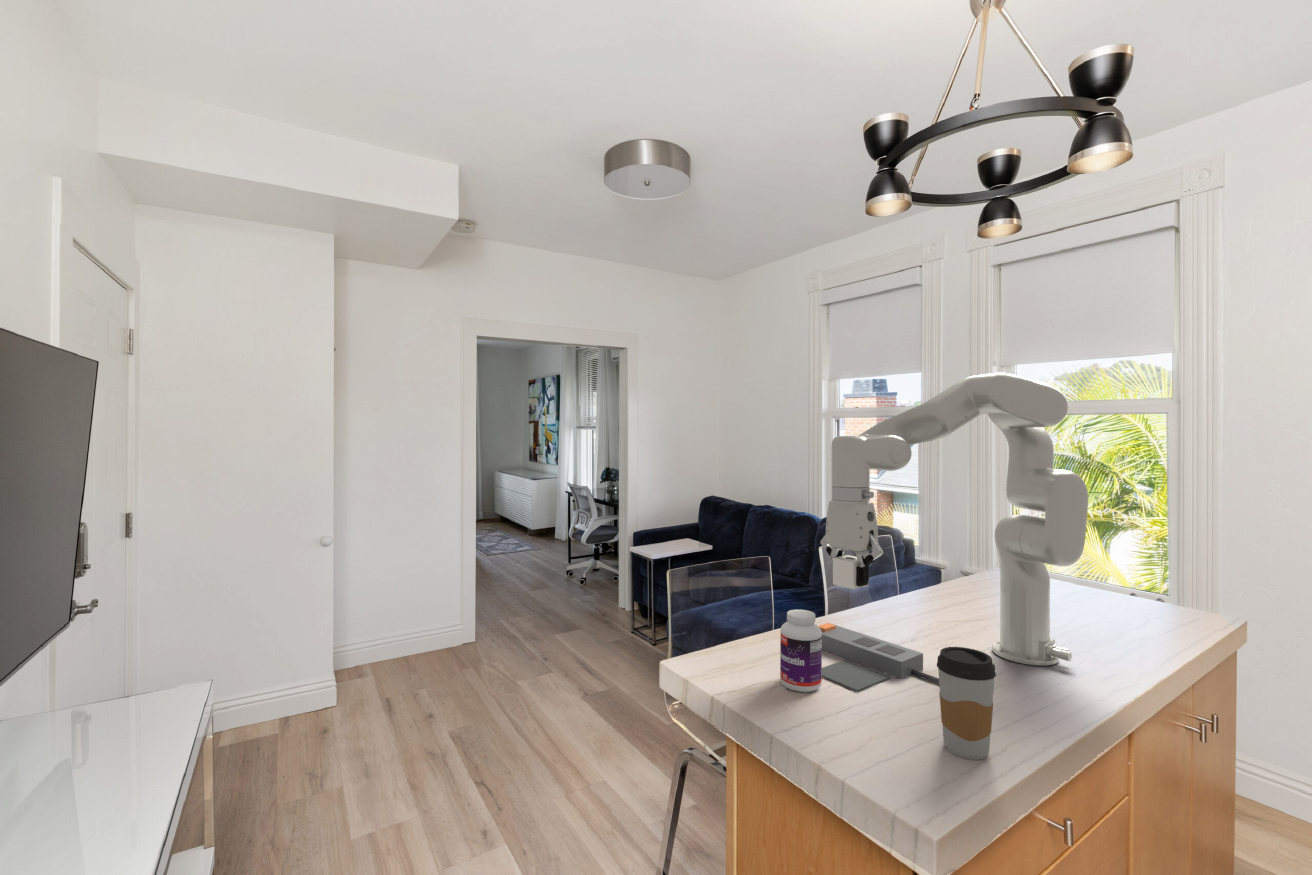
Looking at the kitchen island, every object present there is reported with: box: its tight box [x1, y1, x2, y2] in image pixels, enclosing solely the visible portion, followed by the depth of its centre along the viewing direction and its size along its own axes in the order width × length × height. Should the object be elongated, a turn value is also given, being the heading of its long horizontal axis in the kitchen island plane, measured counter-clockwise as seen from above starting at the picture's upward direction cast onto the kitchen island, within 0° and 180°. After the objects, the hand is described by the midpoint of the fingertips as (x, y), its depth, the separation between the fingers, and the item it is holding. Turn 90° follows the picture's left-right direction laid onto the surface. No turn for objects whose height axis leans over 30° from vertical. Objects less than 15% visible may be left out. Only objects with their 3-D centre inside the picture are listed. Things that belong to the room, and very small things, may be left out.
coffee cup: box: [936, 646, 997, 761], centre depth 91 cm, size 8×8×15 cm
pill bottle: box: [779, 609, 823, 693], centre depth 115 cm, size 8×8×14 cm
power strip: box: [817, 622, 939, 684], centre depth 125 cm, size 36×8×4 cm, turn 35°
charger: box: [832, 554, 869, 590], centre depth 120 cm, size 5×5×6 cm
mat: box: [822, 658, 892, 693], centre depth 119 cm, size 11×11×1 cm
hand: (850, 581), depth 120 cm, fingers closed on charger, 4 cm apart
